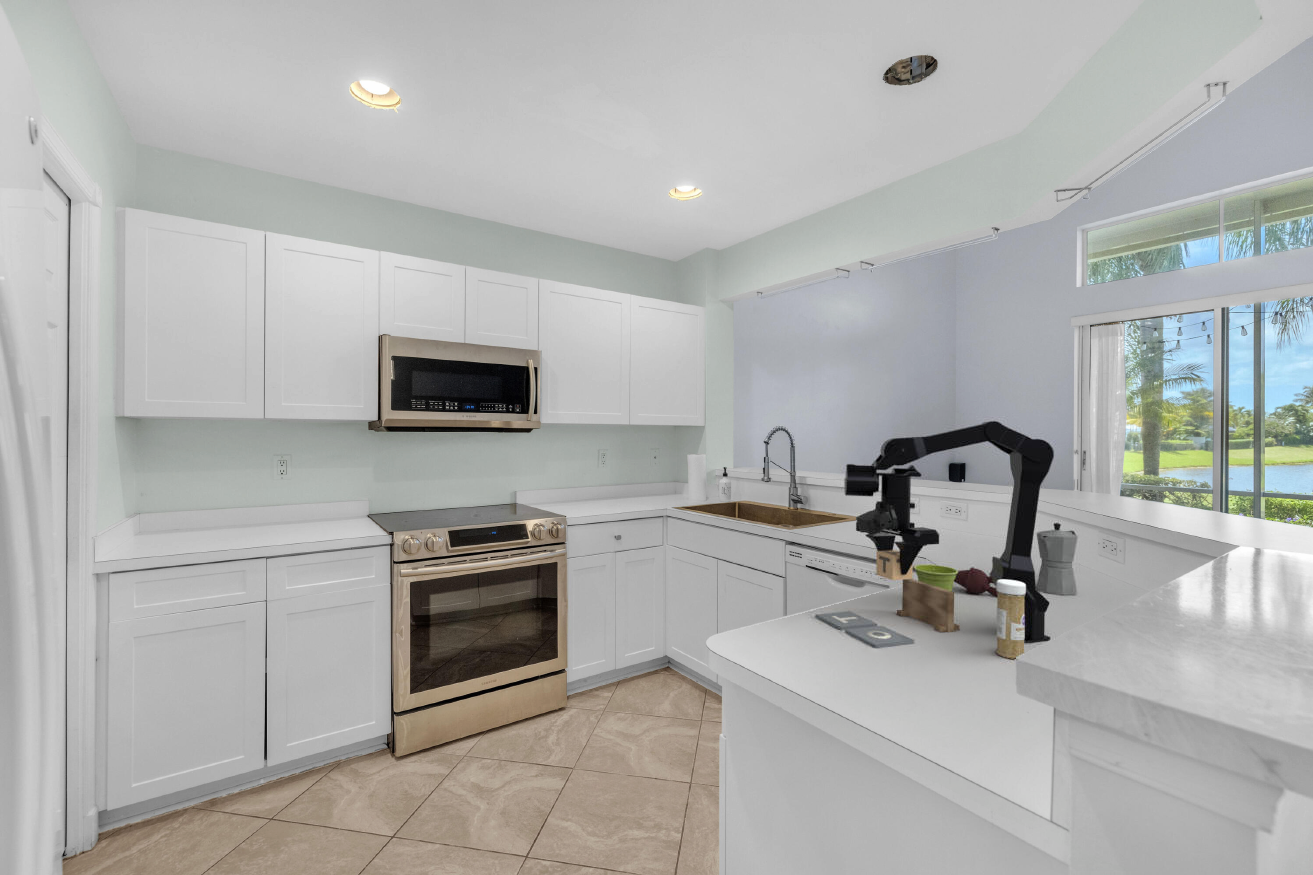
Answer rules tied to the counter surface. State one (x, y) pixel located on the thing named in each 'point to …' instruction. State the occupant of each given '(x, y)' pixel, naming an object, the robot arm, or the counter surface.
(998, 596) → the sprinkles bottle
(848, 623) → the tile
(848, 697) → the counter surface
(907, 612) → the screen
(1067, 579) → the coffeepot
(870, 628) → the tile
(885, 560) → the letter cube
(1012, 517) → the robot arm
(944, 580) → the plant pot
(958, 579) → the dark red bulbous piece
